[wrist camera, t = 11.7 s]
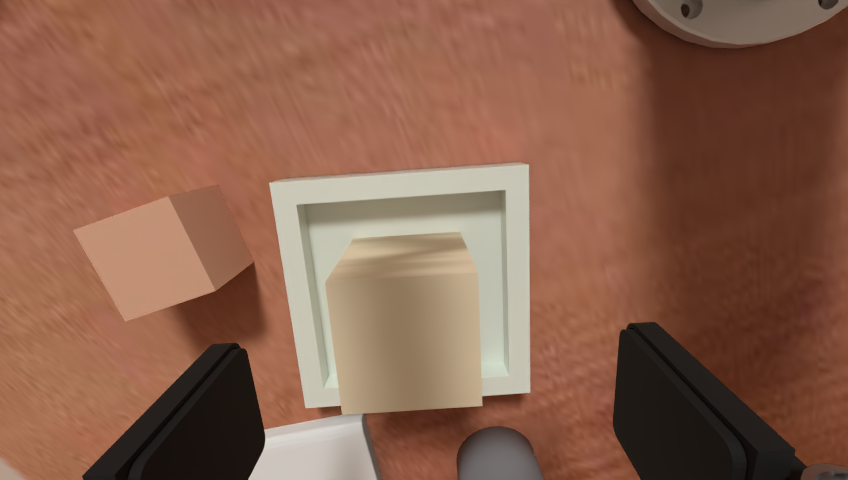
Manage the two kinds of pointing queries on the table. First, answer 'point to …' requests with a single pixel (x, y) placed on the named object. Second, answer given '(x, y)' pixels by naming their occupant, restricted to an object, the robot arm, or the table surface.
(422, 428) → the table surface
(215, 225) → the terracotta cube
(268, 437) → the external hard drive
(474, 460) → the grey rounded lump
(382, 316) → the beech block
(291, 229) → the tray
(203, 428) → the robot arm
